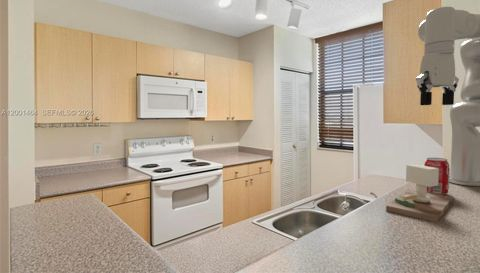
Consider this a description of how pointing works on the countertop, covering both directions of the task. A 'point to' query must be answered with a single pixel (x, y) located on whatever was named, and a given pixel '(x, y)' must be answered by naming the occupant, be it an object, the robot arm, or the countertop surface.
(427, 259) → the countertop surface
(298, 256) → the countertop surface
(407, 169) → the knob
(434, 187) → the soda can
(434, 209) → the dial board
